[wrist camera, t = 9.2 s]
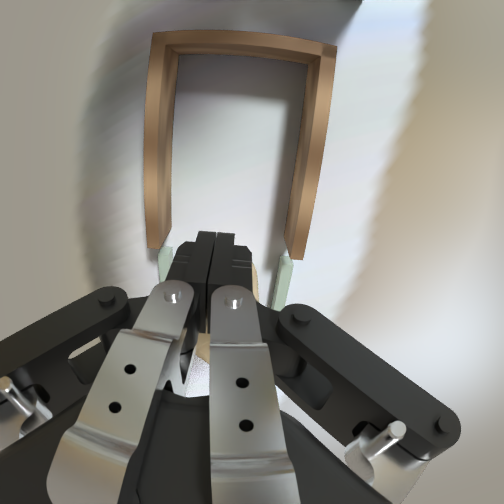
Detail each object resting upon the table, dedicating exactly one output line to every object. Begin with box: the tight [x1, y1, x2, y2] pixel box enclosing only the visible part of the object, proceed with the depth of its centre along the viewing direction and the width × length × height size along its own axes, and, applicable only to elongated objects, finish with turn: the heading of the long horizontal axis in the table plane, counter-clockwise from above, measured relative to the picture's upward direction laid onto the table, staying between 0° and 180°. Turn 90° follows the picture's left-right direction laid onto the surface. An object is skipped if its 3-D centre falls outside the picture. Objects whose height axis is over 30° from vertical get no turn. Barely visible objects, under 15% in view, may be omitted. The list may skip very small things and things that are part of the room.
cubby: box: [144, 30, 337, 260], centre depth 19 cm, size 16×12×4 cm
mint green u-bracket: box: [158, 247, 293, 311], centre depth 27 cm, size 10×12×2 cm
